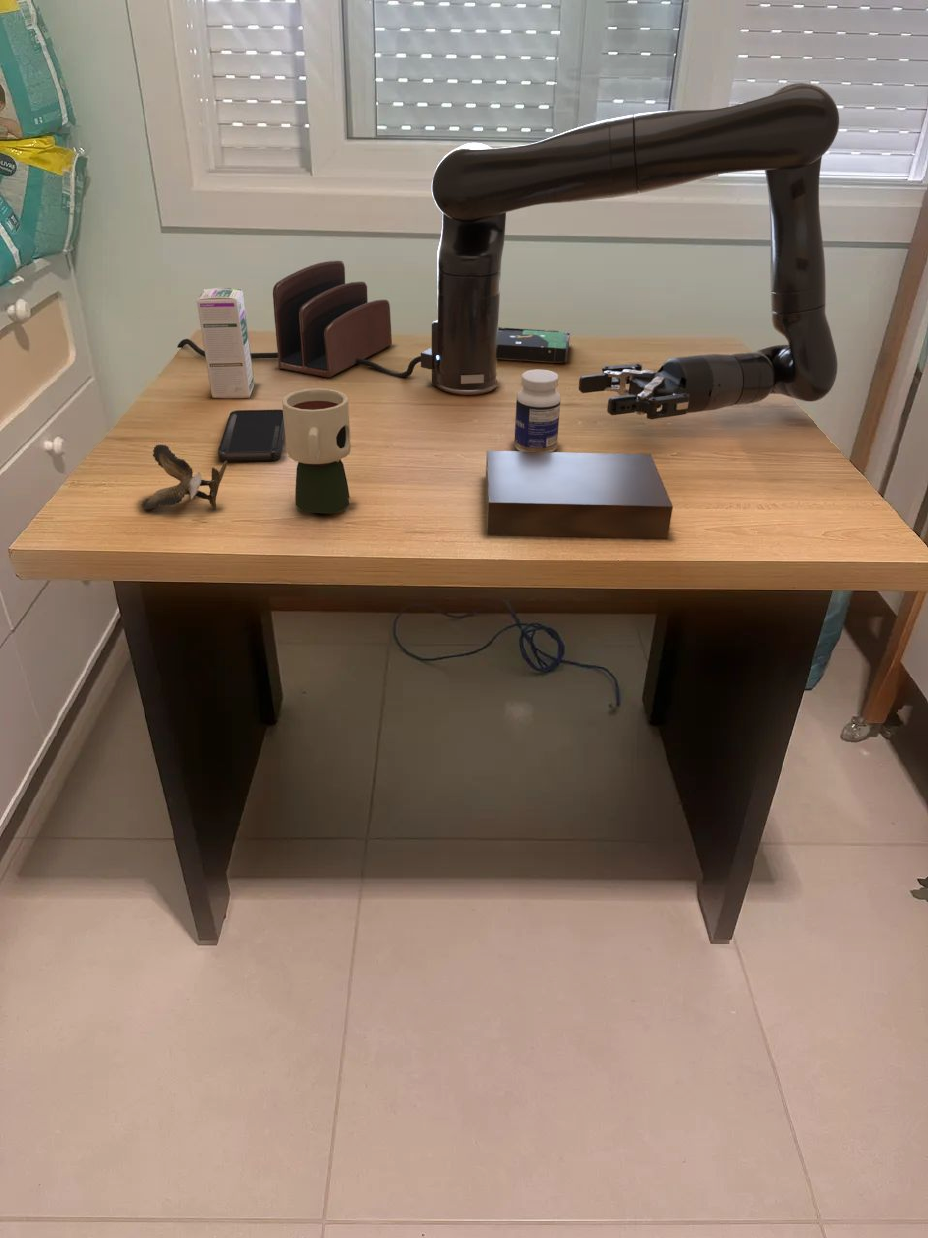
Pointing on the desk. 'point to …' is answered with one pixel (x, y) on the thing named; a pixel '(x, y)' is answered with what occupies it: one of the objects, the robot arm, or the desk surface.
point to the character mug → (318, 447)
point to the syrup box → (226, 342)
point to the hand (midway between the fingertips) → (594, 395)
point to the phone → (253, 436)
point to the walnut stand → (575, 495)
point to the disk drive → (532, 345)
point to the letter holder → (327, 321)
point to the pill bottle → (537, 412)
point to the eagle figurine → (182, 481)
